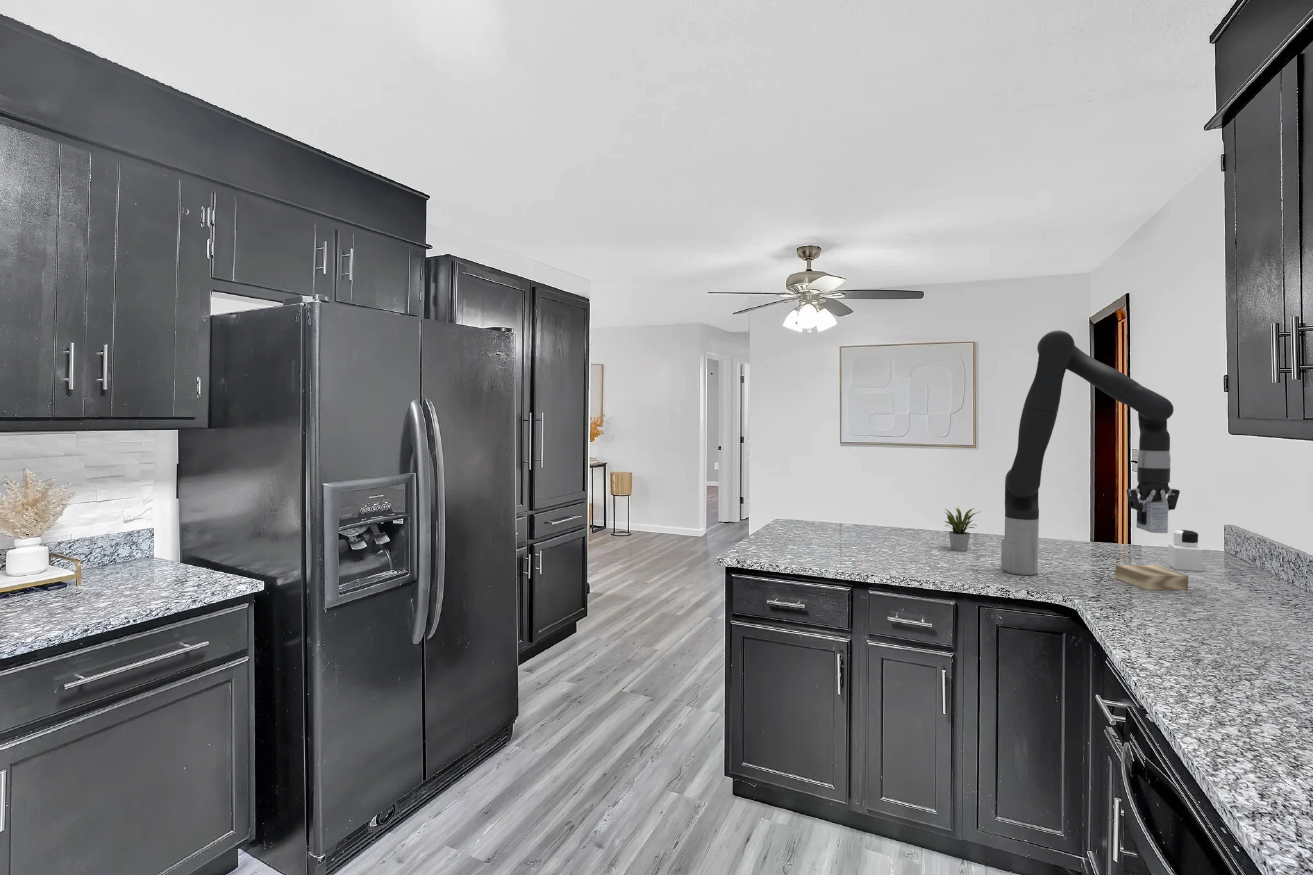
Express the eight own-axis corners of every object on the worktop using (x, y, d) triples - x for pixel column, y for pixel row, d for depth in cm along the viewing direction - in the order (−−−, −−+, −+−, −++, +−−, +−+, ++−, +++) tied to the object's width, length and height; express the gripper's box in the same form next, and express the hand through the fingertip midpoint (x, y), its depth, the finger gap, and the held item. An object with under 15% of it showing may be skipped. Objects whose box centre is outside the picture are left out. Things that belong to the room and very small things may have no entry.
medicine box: (1168, 533, 183) (1169, 503, 183) (1150, 533, 184) (1151, 502, 183) (1152, 528, 191) (1153, 499, 190) (1135, 527, 192) (1136, 498, 191)
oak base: (1144, 589, 182) (1145, 575, 182) (1115, 578, 194) (1115, 565, 194) (1187, 589, 182) (1188, 575, 182) (1155, 578, 194) (1156, 565, 194)
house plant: (987, 548, 235) (988, 504, 235) (983, 556, 224) (983, 509, 223) (944, 544, 243) (945, 501, 242) (938, 551, 231) (939, 506, 231)
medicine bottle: (1195, 566, 207) (1196, 529, 207) (1202, 571, 201) (1204, 533, 200) (1167, 564, 210) (1168, 528, 210) (1174, 569, 204) (1175, 532, 203)
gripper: (1138, 467, 183) (1136, 526, 184) (1189, 467, 182) (1187, 526, 183) (1119, 465, 190) (1117, 522, 191) (1168, 464, 190) (1167, 521, 191)
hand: (1151, 524), depth 187 cm, fingers closed on medicine box, 5 cm apart
